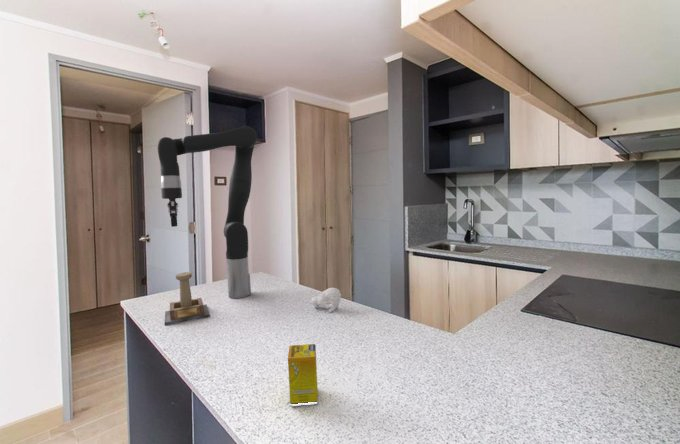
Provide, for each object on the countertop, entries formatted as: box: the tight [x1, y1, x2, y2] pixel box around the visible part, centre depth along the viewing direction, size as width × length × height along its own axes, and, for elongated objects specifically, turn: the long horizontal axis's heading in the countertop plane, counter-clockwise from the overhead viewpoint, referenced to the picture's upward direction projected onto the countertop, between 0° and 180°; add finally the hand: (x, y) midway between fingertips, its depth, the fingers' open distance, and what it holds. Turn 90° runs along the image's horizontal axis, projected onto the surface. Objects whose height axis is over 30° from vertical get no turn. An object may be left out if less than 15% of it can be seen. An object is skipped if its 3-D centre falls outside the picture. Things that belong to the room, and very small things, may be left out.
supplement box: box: [287, 343, 319, 404], centre depth 72 cm, size 6×6×11 cm
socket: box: [164, 297, 211, 326], centre depth 125 cm, size 15×13×4 cm
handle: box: [175, 271, 193, 308], centre depth 125 cm, size 5×6×15 cm
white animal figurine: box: [311, 287, 342, 313], centre depth 127 cm, size 6×8×12 cm
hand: (174, 225), depth 138 cm, fingers open, 8 cm apart
